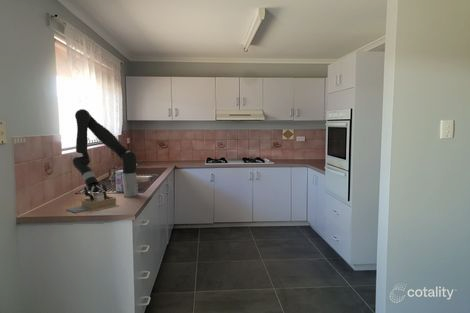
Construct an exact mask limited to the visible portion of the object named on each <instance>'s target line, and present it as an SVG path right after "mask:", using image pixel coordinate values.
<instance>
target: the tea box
mask: <svg viewBox="0 0 470 313" xmlns="http://www.w3.org/2000/svg"><path fill="white" fill-rule="evenodd" d="M92 195H93V197H94V202H97V201H102V200H104V194H103V193H99V192H95V193H92Z"/></svg>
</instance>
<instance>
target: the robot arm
mask: <svg viewBox="0 0 470 313" xmlns="http://www.w3.org/2000/svg"><path fill="white" fill-rule="evenodd" d="M74 117H75V120H76V131H77V132H76V140H75V141H76V142H75V152H76V153H78V154H81V155H82V156H81V155H80V156H75V157H74V158H73V159H72V165H73V166H74V168H75V169H76V170H77V171H79V173H80V174H81V176H82V179H83V181H84V183H85V186H84V187H83V189H82V190H83V194H84V195H85V197H89V198H90V199H91V200H92V201H94V197H93V194H95V193H103V194H104V198H106V197H107V196H108V194H107V192H108V189H107V186H106V185H105V184H104V183H102V184H99V181H98V179H97V177H96V175H95V173H94V171H93V170H92V167H90V166H89V164H90V161H91V160H90V158H89V152H88V129H89V131H91V133H92V134H93V135H94V137H95V138H97V139H98V141H100V142H101V143H102V144H103V145H105V146H106V147H107V148H109V149H110V150H111V151H112V152H113V153H115V154H116V155H117V156H118V157H119V158H120V160H122V163H123V164H122V166H123V168H122V170H123V186H124V192H123V197H126V198H130V197H131V198H132V197H136V196H139V188H138V187H139V184H138V182H137V156H136V154H135V152H133V151H130V150H129V149H127V148H126V146H123V145H122V143H121V142H120V141H119V140H118V138H117V137H116V136H115V135H114V134H113V133H112V132H111V131H110V130H109V129H107V128H106V127H105V126H104V125H102V124H100V123H99V122H98V121H97V120H96V119H95V118H94V117H93V116H92V115H91V113H90V112H89V111H88V110H86V109H83V108H80V109H78V110H76V112H75V114H74Z"/></svg>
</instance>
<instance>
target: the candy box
mask: <svg viewBox="0 0 470 313" xmlns="http://www.w3.org/2000/svg"><path fill="white" fill-rule="evenodd" d="M114 175H115V178H114V179H115V192H116V193H118V192H119V193H124V186H123V169H120V170H116V171H114Z"/></svg>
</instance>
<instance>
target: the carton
mask: <svg viewBox="0 0 470 313" xmlns="http://www.w3.org/2000/svg"><path fill="white" fill-rule="evenodd" d="M79 206H82V207H85V208H87V209H89V210H91V211H95V212H97V211H101V210H105V209H106V210H107V209H110V208H114V207H119V206H120V205H119V204H117V198H116V197H113V196H110V195H107V197H106V198H104V200H102V201H97V202H94V201H92V200H91V199H90V197H89V198H83V199H81V204H79Z"/></svg>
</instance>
